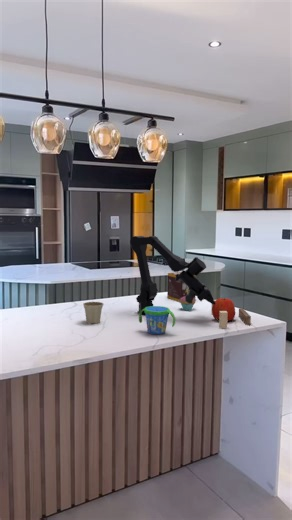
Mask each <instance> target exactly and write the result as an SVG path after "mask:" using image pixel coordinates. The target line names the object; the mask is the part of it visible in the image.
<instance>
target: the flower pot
mask: <svg viewBox="0 0 292 520" xmlns="http://www.w3.org/2000/svg"><path fill="white" fill-rule="evenodd" d="M82 306H83V308H84V313H85V314H84V315H85V321H86V323H87V324H91V325H92V324H99V323H100V322H101V319H102V318H101V316H102V309H103V307H104V303H103V302H100V301H88V302H83V304H82Z"/></svg>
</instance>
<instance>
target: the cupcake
mask: <svg viewBox="0 0 292 520" xmlns="http://www.w3.org/2000/svg"><path fill="white" fill-rule="evenodd" d="M187 293H188V289H187ZM185 297H186V296H184V297H182V298H180V300H179V302H178V303H179V304H180V305H181V307H182V310H184V311H192V310H193V307H194V304H196V298H195V299H194V298H193V300H192V303H188V302H186V301H185Z"/></svg>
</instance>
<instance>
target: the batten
mask: <svg viewBox="0 0 292 520" xmlns="http://www.w3.org/2000/svg"><path fill="white" fill-rule="evenodd" d="M251 317H252V316H251V315H250V314H249V313H248V312H247V311H246V310H245V309H244V308H238V318H239V319H240V320H241V321H242V322H243V323H244V325H246V326H251V321H252V320H251V319H252V318H251Z"/></svg>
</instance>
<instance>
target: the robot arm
mask: <svg viewBox="0 0 292 520" xmlns="http://www.w3.org/2000/svg"><path fill="white" fill-rule="evenodd" d="M129 243H130V246H131V249H132V251H133V252H134V254H135V255H136V260H137V266H138V271H139V275H140V280H141V284H140V289H139V290H140V293H139V294H138V295H137V297H136V298H135V299H136V303H138V311H137V314H138V315H139V314H140V312H141V311H142V310H143V309H145V308H146V307H149V306H154V303H153V301H155V298H156V297H157V295H158V292H159V290H158V287H157V283H156V282H155V283H154V282H153V281H152V278H151V277H152V276H151V272H150V267H149V263H148V258H147V249H148V245H150V246H151V247H152V248H153V249H154V250H155V251H156V252H157V253H158V254H159V255H160V256H161V257H162V258H163V259H164V260H165V261H166V263H167V266H168V267H169V269H170V270H171V271H172V272H173V273H175V272H181V273H180V274H176V281H178V280H179V279H181V280H182V281H183V282H184V283H185V284H186V285H187V286H188V288H189V291H188V293H187V295H186V297H185V301H186V302H188V303H192V300H193V298H194V296H195V297H196V299H198V301H200V302H203V300H205V301H207V302H208V303H210V304H211V305H212V304H213V305H215V301H214V300H215V299H214V297H213V295H212V293H211V290H210V289H209V288H208V287H207V285H206V284H205V283H202V282H201V280H200V279H198V277H197V276H199V275H200V274H201V273H202V272H203V271H204V270H205V269H207V265H206V263H205V262H204V261H203V260H201V259H200V258H199V257H194V258H193V259H192V260H191V261H190V262H188V261H186V260H185V259H183V258H182V257H180V256H179V255H176V254H175V253H173V252H172V251H171V250H170V249H169V248H168V247H167V246H166V245H165V244H164V243H163V242H162V241H161V240H160V239H159V237H158V236H156V235H149V236H144V235H133V236H132V237H131V239H130V241H129ZM185 269H186V270H185ZM194 275H196V277H195V276H194ZM141 316H146V315H145V312H144V311H143V312H142V315H141Z"/></svg>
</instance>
